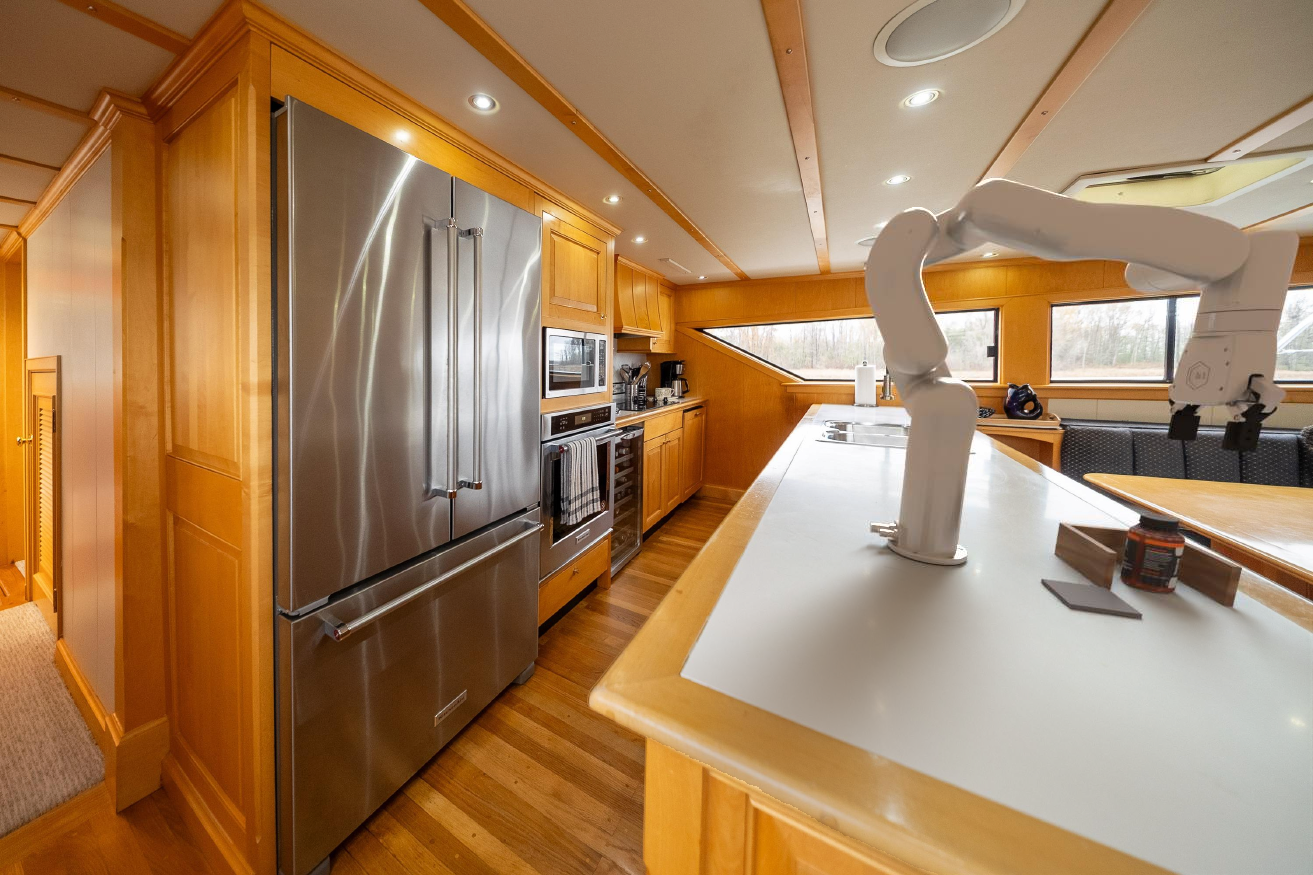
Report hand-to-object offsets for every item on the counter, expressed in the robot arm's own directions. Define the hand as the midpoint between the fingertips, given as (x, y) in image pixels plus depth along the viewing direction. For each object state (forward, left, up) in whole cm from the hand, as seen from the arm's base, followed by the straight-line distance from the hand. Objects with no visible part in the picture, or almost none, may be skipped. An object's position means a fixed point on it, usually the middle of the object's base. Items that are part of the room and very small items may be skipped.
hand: (1207, 444), depth 66 cm
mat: (-16, -9, -23) cm, 29 cm away
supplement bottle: (-4, -1, -23) cm, 23 cm away
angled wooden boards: (-4, +2, -23) cm, 23 cm away
